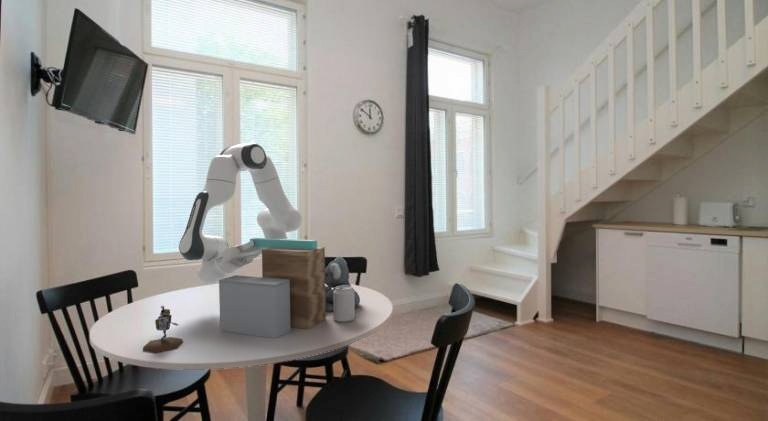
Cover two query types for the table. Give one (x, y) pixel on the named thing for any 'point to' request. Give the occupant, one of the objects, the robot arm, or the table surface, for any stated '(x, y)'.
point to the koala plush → (336, 281)
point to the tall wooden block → (299, 281)
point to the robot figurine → (164, 342)
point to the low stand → (255, 305)
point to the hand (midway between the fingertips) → (258, 241)
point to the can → (343, 303)
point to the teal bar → (285, 243)
